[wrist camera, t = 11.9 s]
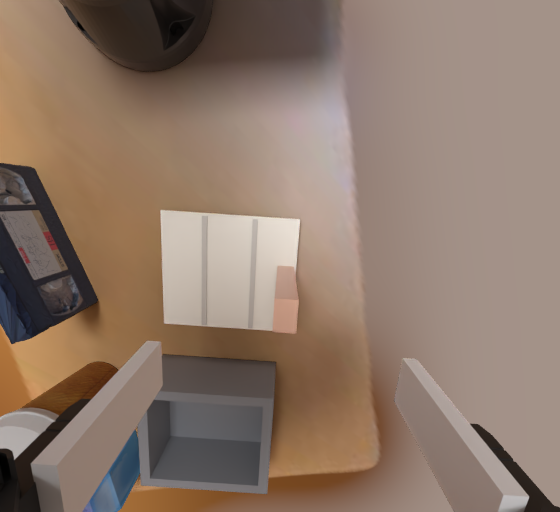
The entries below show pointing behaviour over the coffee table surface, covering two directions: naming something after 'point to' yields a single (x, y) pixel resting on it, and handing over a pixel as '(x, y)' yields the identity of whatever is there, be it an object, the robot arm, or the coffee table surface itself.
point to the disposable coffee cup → (51, 406)
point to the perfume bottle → (117, 480)
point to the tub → (209, 425)
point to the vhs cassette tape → (35, 259)
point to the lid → (230, 270)
